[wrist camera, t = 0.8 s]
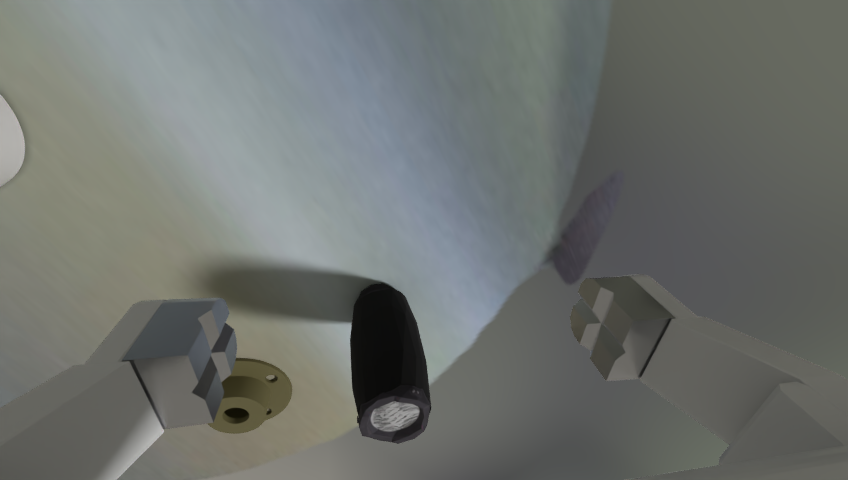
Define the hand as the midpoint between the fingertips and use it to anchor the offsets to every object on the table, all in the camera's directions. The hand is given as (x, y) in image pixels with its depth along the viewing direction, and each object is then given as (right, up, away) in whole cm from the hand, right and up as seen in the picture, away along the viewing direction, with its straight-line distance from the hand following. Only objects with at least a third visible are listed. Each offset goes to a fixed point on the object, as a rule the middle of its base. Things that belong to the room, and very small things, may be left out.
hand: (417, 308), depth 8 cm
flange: (-29, -23, +50) cm, 62 cm away
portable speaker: (-6, -8, +46) cm, 48 cm away
